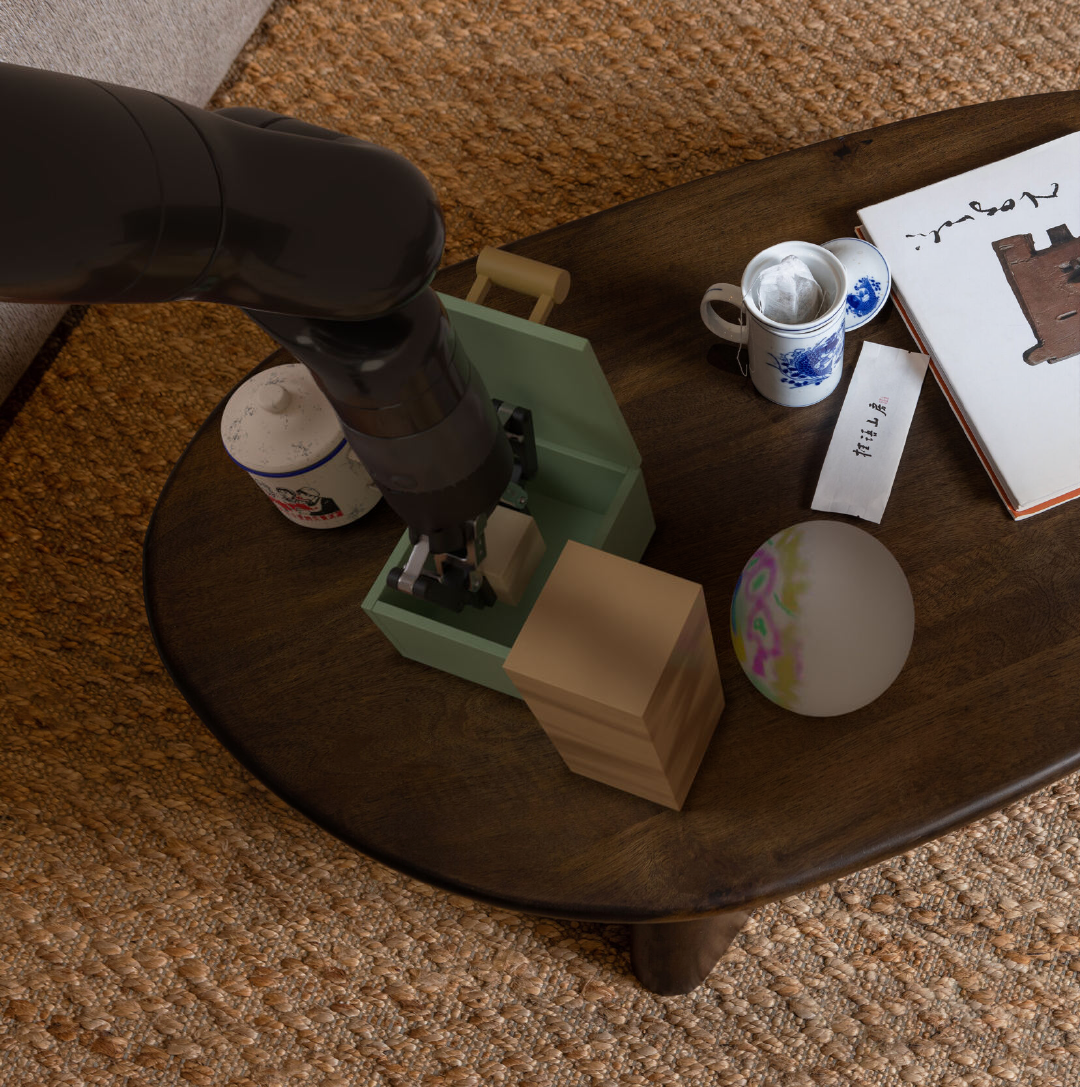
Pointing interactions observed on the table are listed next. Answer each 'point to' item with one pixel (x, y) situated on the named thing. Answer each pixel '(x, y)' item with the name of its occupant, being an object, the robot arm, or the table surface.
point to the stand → (621, 673)
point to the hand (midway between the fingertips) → (499, 564)
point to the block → (511, 553)
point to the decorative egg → (822, 618)
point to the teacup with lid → (296, 449)
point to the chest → (560, 514)
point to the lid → (540, 359)
